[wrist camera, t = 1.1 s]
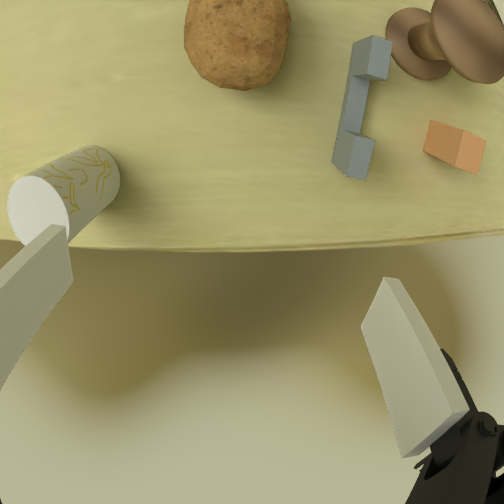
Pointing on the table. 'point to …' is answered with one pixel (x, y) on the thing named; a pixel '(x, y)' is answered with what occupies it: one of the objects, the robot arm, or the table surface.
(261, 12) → the potato
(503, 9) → the paper towel holder
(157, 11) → the table surface
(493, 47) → the bobbin
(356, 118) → the gray board
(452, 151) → the orange brown tapered block
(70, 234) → the cup
